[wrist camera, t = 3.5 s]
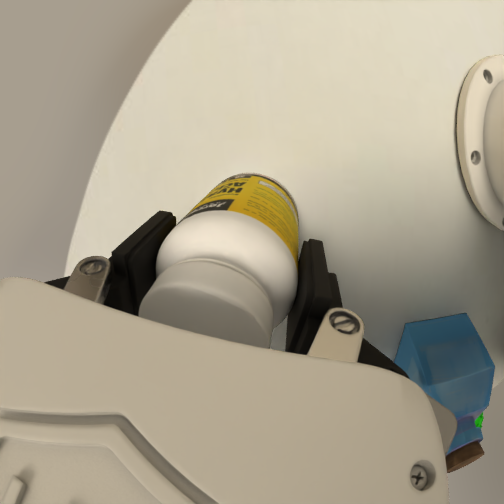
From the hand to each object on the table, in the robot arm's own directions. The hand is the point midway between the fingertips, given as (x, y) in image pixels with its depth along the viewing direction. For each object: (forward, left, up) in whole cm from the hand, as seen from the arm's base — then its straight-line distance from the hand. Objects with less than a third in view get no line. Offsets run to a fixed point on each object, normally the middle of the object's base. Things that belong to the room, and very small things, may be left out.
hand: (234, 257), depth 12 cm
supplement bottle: (0, 0, -5) cm, 5 cm away
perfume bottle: (+8, +17, -5) cm, 19 cm away
